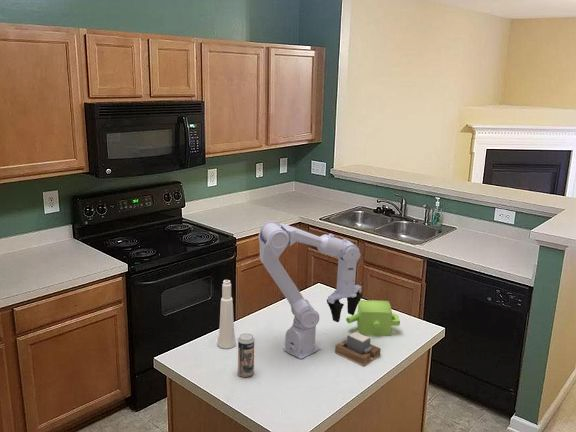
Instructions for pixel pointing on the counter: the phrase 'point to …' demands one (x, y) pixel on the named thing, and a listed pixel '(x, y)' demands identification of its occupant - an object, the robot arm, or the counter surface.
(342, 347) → the pocket block
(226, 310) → the cosmetic bottle
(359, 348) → the block
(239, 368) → the beer can
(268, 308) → the counter surface
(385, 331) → the gearbox
